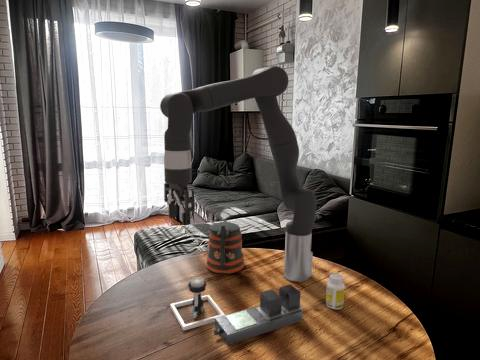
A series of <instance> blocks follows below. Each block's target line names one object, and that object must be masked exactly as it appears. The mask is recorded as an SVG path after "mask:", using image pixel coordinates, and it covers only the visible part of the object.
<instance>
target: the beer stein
mask: <svg viewBox="0 0 480 360" xmlns="http://www.w3.org/2000/svg"><path fill="white" fill-rule="evenodd" d="M208 229H209V230H210V232H209V237H208V252H207V255H206V268H207V269H208V270H209V271H210V272H213V273H214V274H215V273H216V274H220V275H221V274H222V275H226V274H227V275H228V274H229V275H230V274H234V273H238V272H240V271H242V270H243V268H244V267H245V261H244V259H245V258H244V253H243V247H242V246H243V245H242V244H243V238H242V231H241V228H240V225H239V224H236V223H234V222H230V221H228V220H227V219H225V220H224V221H220V222H216V223H212V224H211V225H210V226H209V228H208Z"/></svg>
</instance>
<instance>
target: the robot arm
mask: <svg viewBox="0 0 480 360" xmlns="http://www.w3.org/2000/svg"><path fill="white" fill-rule="evenodd" d="M288 86H289V75H288V73H287V71H286V70H285V69H284V68H283V67H281V66H279V65H278V66H277V65H269V66H265V67H261V68H257V69H255V70H254V71H253V73H252V74H251V75H250V76H247V77H243V78H237V79H231V80H226V81H220V82H215V83H211V84H206V85H203V86H198V87H196V88H193V89H189V90H184V91H183V90H182V91H177V92H173V93H169V94H166V95H165V96H164V97H162V99H161V100H160V101H161V102H160V106H159V107H160V108H159V109H160V111H161V113H162V115H163V116H165V117H166V118H167V129H166V130H165V131H164V139H163V140H164V142H163V143H164V154H163V167H164V169H163V170H164V183H163V197H164V198H163V200H164V203H166V205H167V206H168V217H169V218H170V219H175V218H177V215H178V214H177V205H178V206H179V208H180V211H181V220H182V221H181V224H182V225H183V226H185V227H186V226H189V225H191V212H195V211H196V206H195V203H196V202H195V190H194V189H189V188H188V187H189V186H188V184H190V183H192V155H191V138H190V134H191V131H192V130H191V129H192V124H193V117H194V114H195V113H196V114H197V113H205V112H211V111H213V110H216V109H220V108H223V107H228V106H231V105H234V104H236V103H240V102H243V101H247V100H251V99H254V100H255V103H256V105H257V107H258V110H259V112H260V116H261V119H262V123H263V126H264V129H265V133H266V137H267V141H268V144H269V149H270V152H271V155H272V158H273V161H274V162H273V163H274V165H275V169H276V173H277V176H278V180H279V187H280V193H281V194H280V195H281V200H282V203H283V205H284V207H285V208H286V209H287V210H289V211H290V212H293V219H292V220H290V221H287V223H286V224H285V238H284V239H285V242H284V243H285V244H284V246H285V247H284V263H283V264H284V266H283V277H284V278H286V279H287V280H288V281H292V282H295V283H297V282H298V283H299V282H300V283H302V282H306V281H307V280H309V278H311V277H312V275H313V273H312V272H313V256H314V255H313V254H314V252H313V251H312V250H311V249H312V235H313V234H312V233H313V231H312V230H313V227H314V226H315V221H316V212H317V197H316V195H315V192H313V191H312V190H310V189H307V188H305V187H302V186H301V185H300V182H299V181H300V180H299V178H298V174H297V173H298V172H297V167H298V162H299V157H300V148H299V144H298V139H297V135H296V131H295V130H294V128H293V126H292V125H291V123H290V122H289V121H288V119H287V117H285V114H283V112H282V109H281V107H280V105H279V102H278V98H277V97H279V96H281V95H282V94H283V93H285V92H286V90H287V88H288ZM176 204H177V205H176Z"/></svg>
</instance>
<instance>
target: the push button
mask: <svg viewBox="0 0 480 360" xmlns="http://www.w3.org/2000/svg"><path fill="white" fill-rule="evenodd" d="M187 285H188V286H187V287H188V289H189V291H190V292H191V293H193V298H194V299H193V298H192V299H193V301H192V308H191V309H192V310H191V311H192V317H193V319H196V318H197V317H199V316H200V315H201V313H203V311H204V301H203V300H201V296H202V295H201V293H203V292H204V291H206V287H207V282H206V281H205V280H204V279H202V278H201V277H200V278H199V277H197V278H193V279H192V280H190V281H189V282H188V284H187Z"/></svg>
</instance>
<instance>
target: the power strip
mask: <svg viewBox="0 0 480 360" xmlns="http://www.w3.org/2000/svg"><path fill="white" fill-rule="evenodd" d="M278 291H279V292H276V291H275V290H274V289H273V288H272V289H268V290H265V291H260V293H259V294H260V298H259V299H260V300H259V305H256V306H254V307H249V308H246V309H243V310H240V311H236V312H232V313H229V314H225V316H221V317H218V318H215V322H214V326H215V327H214V329H216V330H214V331H213V333H214V336H218V335H220V337H221V338H222V339H223V341H224V343H226V345H227V346H229V345H233V344H235V343H238V342H241V341H244V340H245V341H246V340H247V339H250V338H253V337H256V336H260V335H263V334H266V333H269V332H272V331H275V330H278V329H281V328H284V327H287V326H290V325H292V324H296V323H298V322H302V321H303V319H304V318H303V317H304V314H303V313H304V310H303V309H304V307H303V306H302V305H301V295H302V294H301V293H302V292H301V291H300V290H299V289H297V288H296V287H295V286H293V285H292V284H287V285H284V286H280V287H279V289H278Z"/></svg>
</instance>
